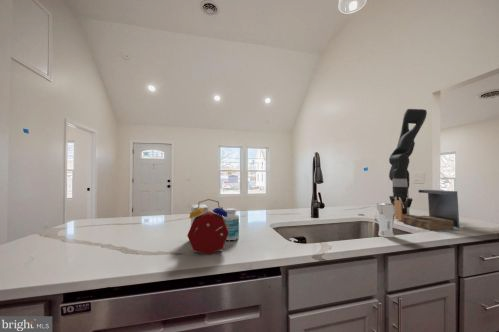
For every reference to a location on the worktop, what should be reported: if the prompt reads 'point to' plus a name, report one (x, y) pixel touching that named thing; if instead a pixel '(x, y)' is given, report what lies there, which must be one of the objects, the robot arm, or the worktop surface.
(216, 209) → the alarm clock
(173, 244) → the worktop surface
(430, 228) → the socket block
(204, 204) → the skincare box
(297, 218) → the worktop surface
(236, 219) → the pill bottle
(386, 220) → the beer glass
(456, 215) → the thin grey panel
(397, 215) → the peg
